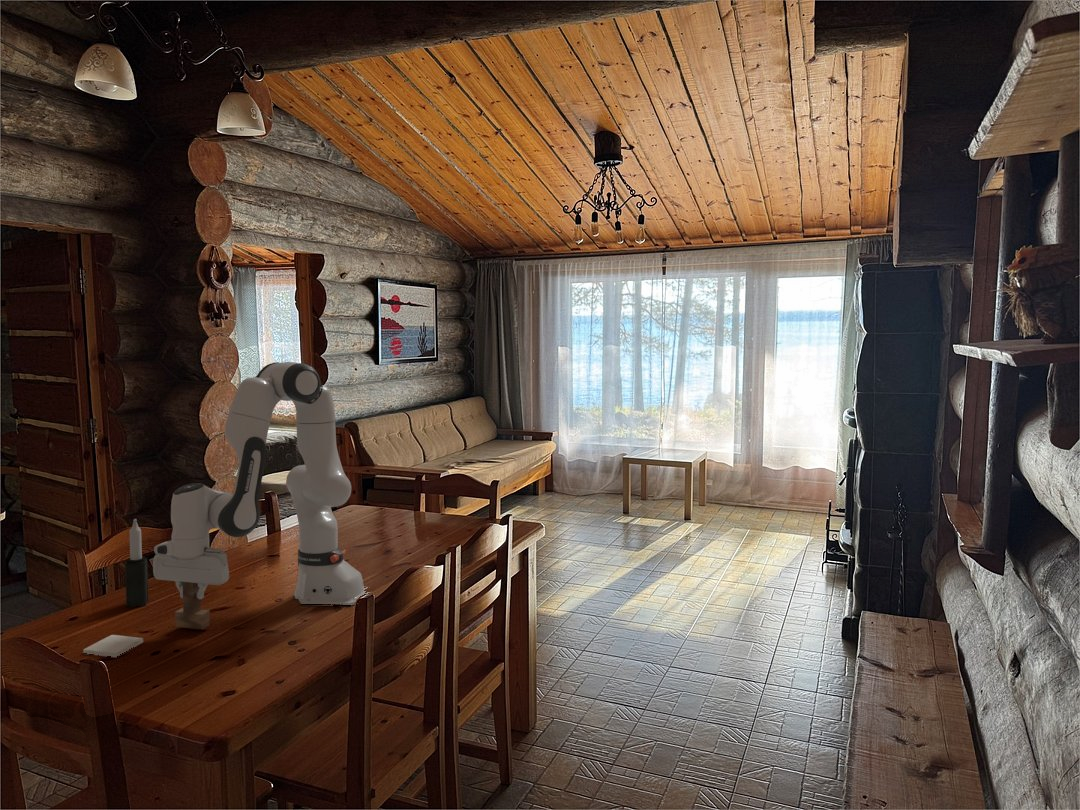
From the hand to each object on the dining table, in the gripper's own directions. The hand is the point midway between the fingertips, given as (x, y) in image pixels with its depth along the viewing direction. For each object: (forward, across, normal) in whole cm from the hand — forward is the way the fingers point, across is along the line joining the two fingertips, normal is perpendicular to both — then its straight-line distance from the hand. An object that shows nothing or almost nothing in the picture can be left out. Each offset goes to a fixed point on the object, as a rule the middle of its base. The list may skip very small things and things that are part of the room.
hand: (192, 597), depth 188 cm
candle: (+9, +27, -12) cm, 31 cm away
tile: (+8, +11, +10) cm, 17 cm away
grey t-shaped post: (+8, 0, 0) cm, 8 cm away
